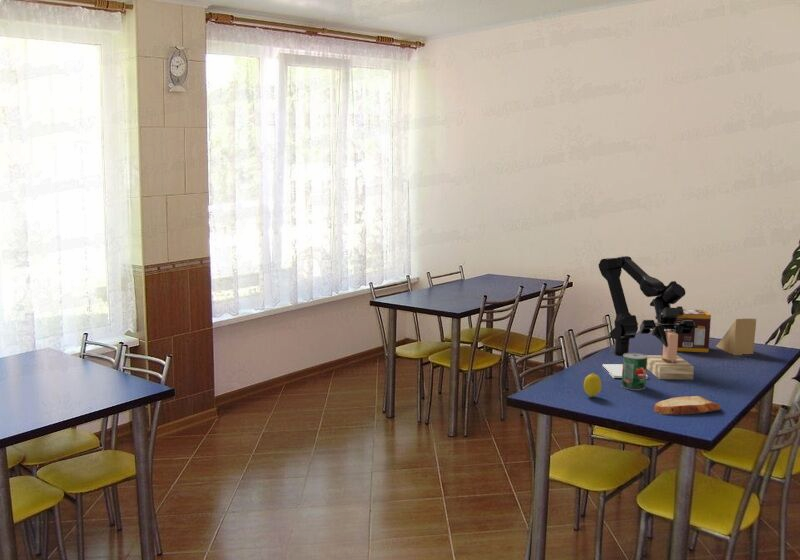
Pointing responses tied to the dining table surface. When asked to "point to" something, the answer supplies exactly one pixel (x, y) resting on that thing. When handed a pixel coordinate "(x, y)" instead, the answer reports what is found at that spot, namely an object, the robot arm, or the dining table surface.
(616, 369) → the mat
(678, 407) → the slice of bread
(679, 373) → the slot box
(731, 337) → the sandwich container
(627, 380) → the canned tomato
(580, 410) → the dining table surface
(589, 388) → the lemon
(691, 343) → the supplement box
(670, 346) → the pink rectangular block
